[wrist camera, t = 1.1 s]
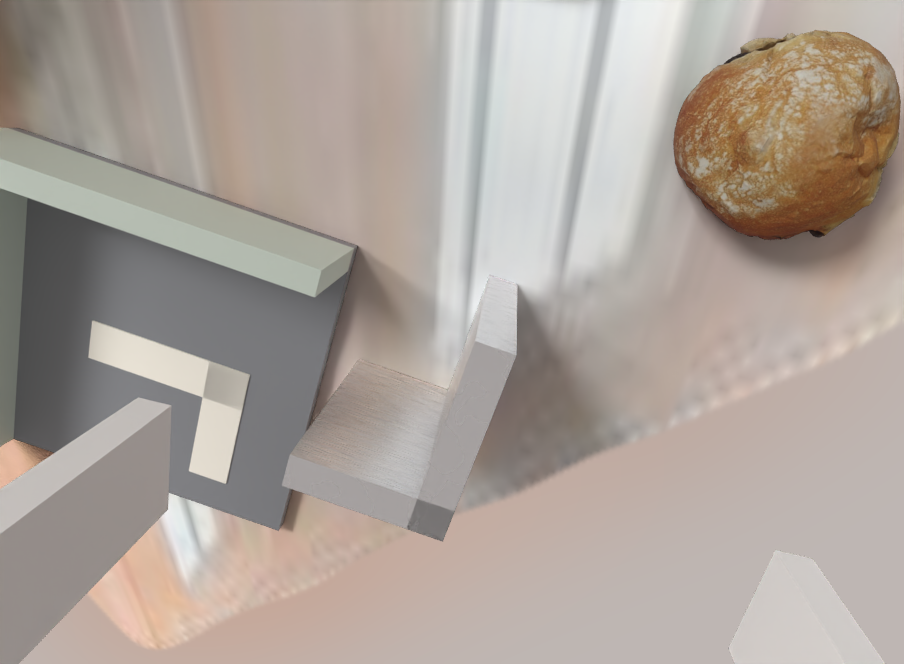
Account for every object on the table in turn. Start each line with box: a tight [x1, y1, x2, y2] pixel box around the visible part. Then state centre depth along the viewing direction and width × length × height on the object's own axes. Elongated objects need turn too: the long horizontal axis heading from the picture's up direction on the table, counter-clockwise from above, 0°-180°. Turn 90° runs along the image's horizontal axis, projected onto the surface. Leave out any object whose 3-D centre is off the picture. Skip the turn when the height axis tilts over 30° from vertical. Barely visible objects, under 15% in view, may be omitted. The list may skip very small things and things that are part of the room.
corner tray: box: [0, 128, 357, 531], centre depth 36 cm, size 22×22×7 cm
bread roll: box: [673, 30, 901, 240], centre depth 29 cm, size 10×10×8 cm
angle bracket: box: [282, 275, 517, 541], centre depth 31 cm, size 10×8×12 cm
